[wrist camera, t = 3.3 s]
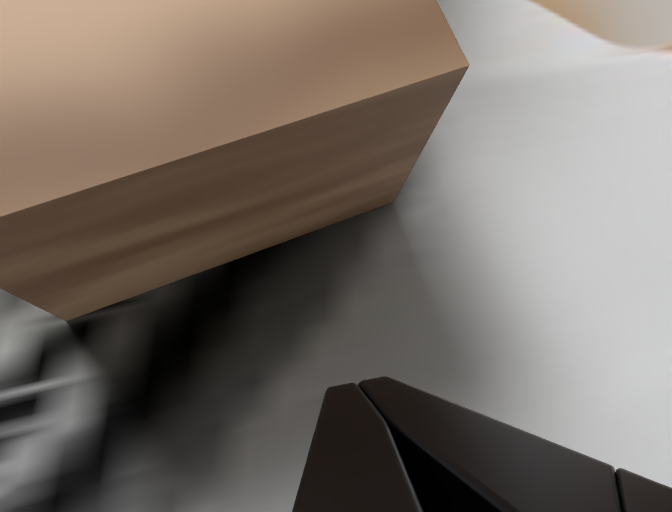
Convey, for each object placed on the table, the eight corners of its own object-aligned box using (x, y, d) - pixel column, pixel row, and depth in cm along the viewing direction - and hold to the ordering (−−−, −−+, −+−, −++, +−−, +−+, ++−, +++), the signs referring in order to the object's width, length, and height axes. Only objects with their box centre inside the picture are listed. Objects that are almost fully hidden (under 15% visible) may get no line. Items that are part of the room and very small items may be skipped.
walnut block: (392, 203, 22) (469, 65, 14) (68, 322, 20) (-87, 244, 11) (258, -90, 25) (252, -357, 17) (-39, -17, 23) (-225, -284, 14)
